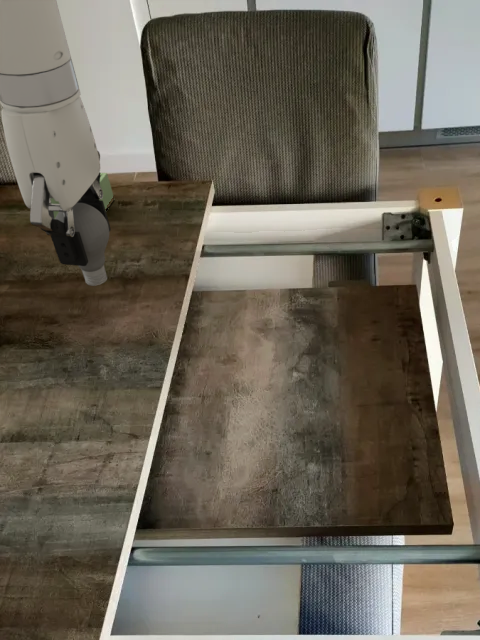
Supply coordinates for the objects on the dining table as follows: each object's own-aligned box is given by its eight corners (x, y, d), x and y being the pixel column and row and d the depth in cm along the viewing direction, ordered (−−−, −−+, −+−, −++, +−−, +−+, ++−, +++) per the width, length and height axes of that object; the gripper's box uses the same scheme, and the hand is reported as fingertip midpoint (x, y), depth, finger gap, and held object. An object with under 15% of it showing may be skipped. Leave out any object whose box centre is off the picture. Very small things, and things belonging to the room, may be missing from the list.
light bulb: (111, 299, 77) (89, 222, 70) (63, 294, 78) (36, 218, 70) (129, 270, 81) (110, 194, 74) (83, 266, 82) (60, 191, 74)
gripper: (38, 49, 69) (84, 207, 82) (-48, 116, 57) (22, 288, 71) (106, 52, 68) (142, 212, 81) (33, 121, 57) (88, 294, 70)
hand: (86, 246), depth 76 cm, fingers closed on light bulb, 6 cm apart
